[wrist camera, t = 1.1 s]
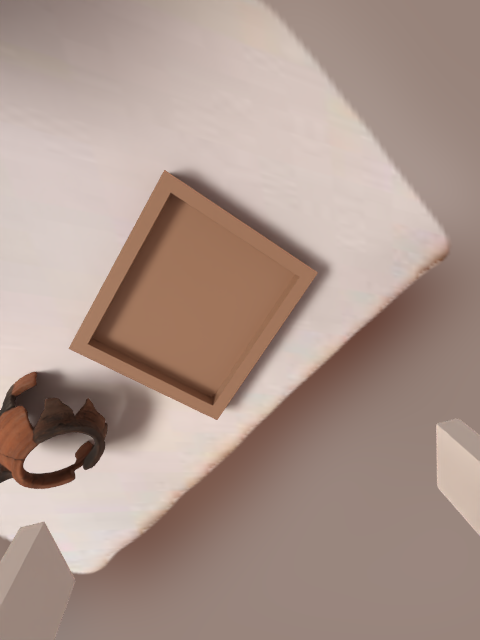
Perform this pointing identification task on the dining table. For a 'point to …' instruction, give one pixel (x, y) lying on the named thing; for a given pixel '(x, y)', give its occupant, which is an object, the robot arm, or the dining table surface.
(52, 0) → the dining table surface
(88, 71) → the dining table surface
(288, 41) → the dining table surface
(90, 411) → the pottery mug
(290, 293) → the serving tray
